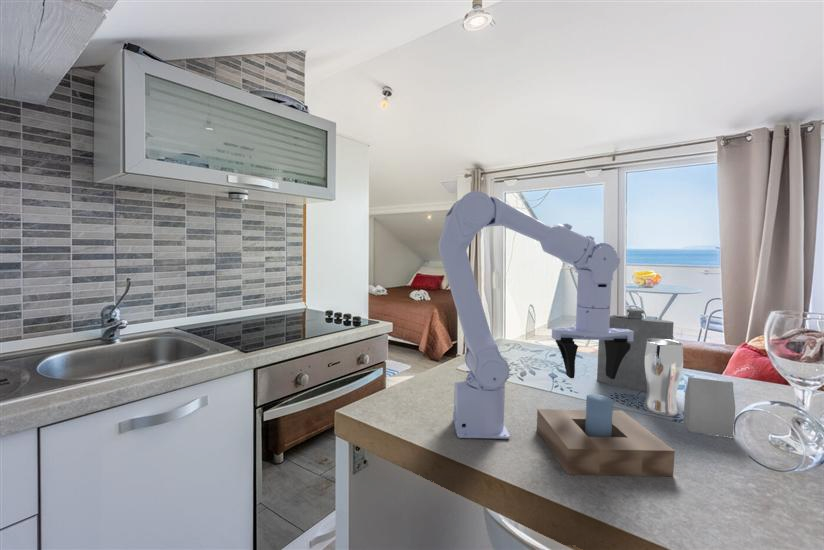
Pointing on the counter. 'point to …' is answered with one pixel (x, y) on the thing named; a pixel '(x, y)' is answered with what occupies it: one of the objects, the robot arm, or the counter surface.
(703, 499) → the counter surface
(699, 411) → the grey angular block
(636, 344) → the hip flask
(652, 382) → the silver metal tumbler
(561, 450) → the socket board
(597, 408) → the peg
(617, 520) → the counter surface
